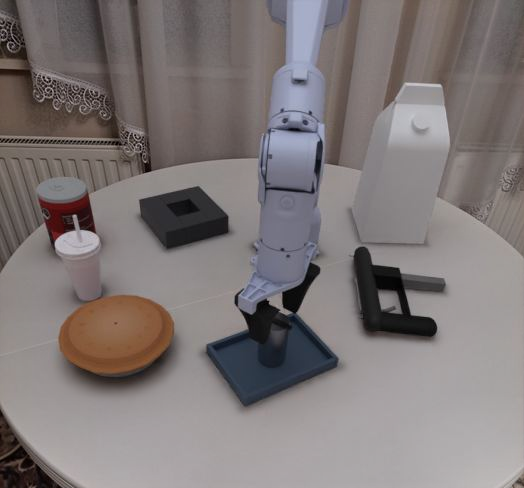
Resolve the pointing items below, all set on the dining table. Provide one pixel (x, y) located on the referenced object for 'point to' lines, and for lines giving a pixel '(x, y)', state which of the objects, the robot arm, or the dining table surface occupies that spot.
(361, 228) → the milk
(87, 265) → the smoothie
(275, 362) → the dark grey canister
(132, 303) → the pie
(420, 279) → the door handle
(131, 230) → the dining table surface
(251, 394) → the tray
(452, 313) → the dining table surface
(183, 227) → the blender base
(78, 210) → the canned food
